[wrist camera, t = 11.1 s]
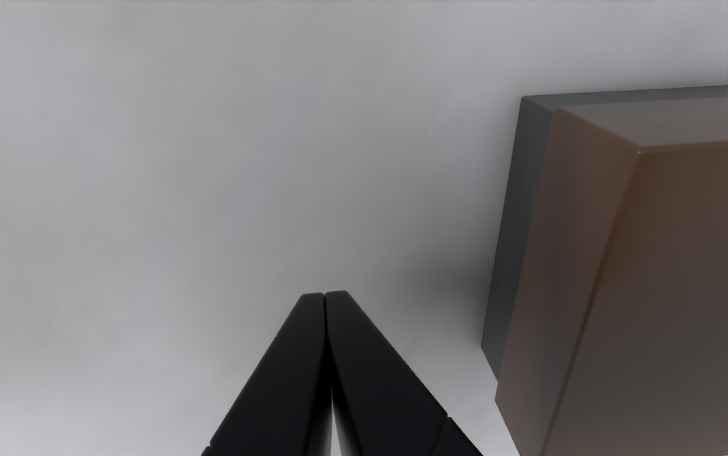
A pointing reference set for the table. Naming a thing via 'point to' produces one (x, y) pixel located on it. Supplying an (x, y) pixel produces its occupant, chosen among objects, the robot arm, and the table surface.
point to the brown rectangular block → (614, 276)
